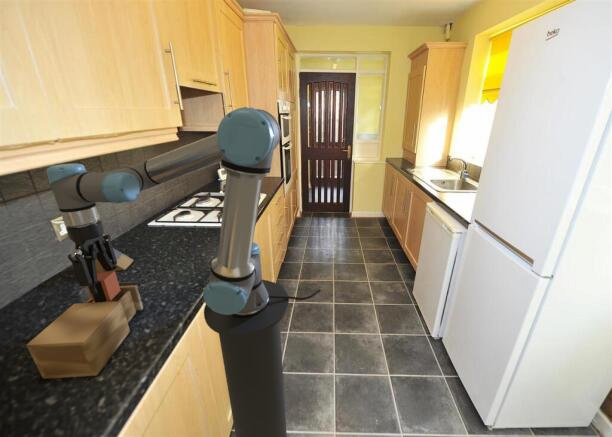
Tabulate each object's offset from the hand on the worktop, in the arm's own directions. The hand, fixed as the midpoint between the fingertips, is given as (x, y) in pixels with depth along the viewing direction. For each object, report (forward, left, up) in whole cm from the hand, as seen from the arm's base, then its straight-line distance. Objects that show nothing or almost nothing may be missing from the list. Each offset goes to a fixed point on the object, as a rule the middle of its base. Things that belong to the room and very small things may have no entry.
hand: (107, 295), depth 80 cm
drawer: (0, -1, -9) cm, 9 cm away
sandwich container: (+23, -35, -10) cm, 44 cm away
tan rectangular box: (0, +12, -10) cm, 15 cm away
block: (0, 0, 0) cm, 0 cm away
